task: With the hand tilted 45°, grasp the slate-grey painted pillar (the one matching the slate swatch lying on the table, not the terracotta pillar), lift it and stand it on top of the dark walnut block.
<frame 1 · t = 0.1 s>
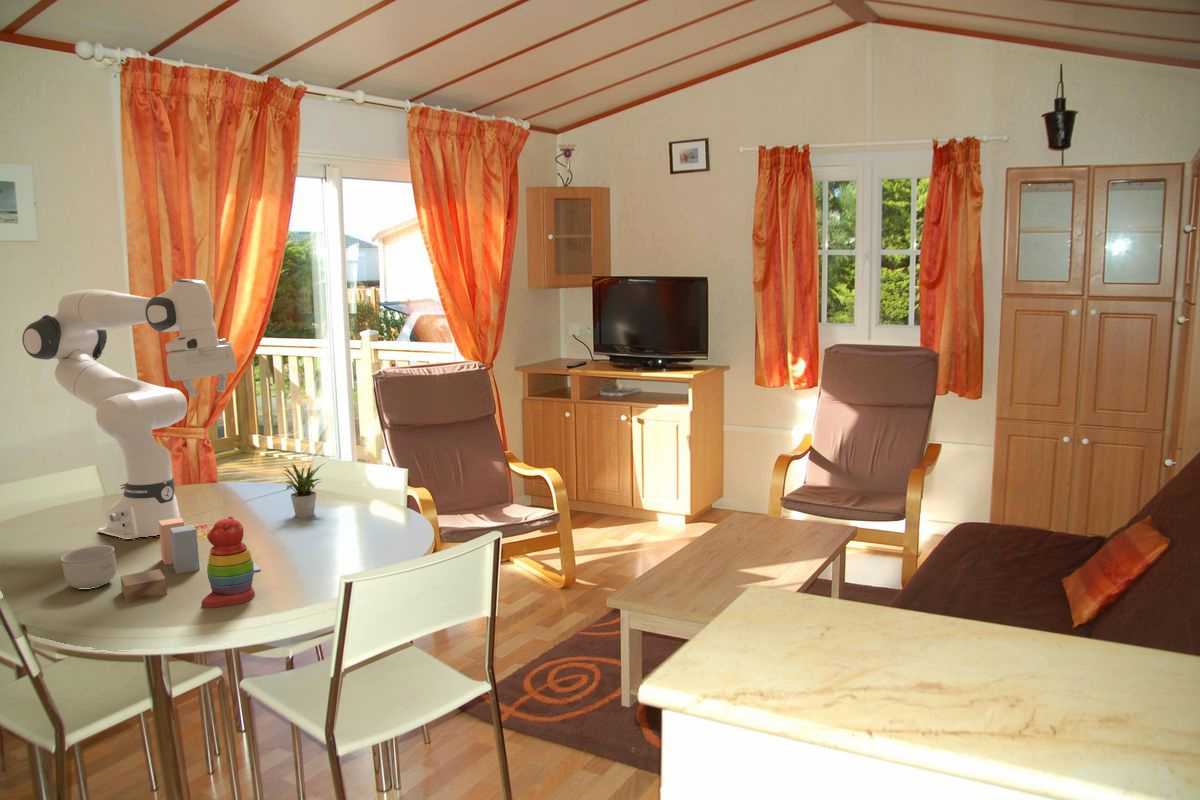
hand: (208, 394, 241), 39 cm above the table, tool pointing down, fingers open, 8 cm apart
teacup: (92, 584, 214), on the table
house plant: (299, 515, 269), on the table
terracotta pillar: (174, 560, 230), on the table
walnut block: (144, 594, 207), on the table
slate swatch: (244, 569, 221), on the table
stacking bear: (231, 599, 203), on the table
slate pillar: (186, 569, 223), on the table
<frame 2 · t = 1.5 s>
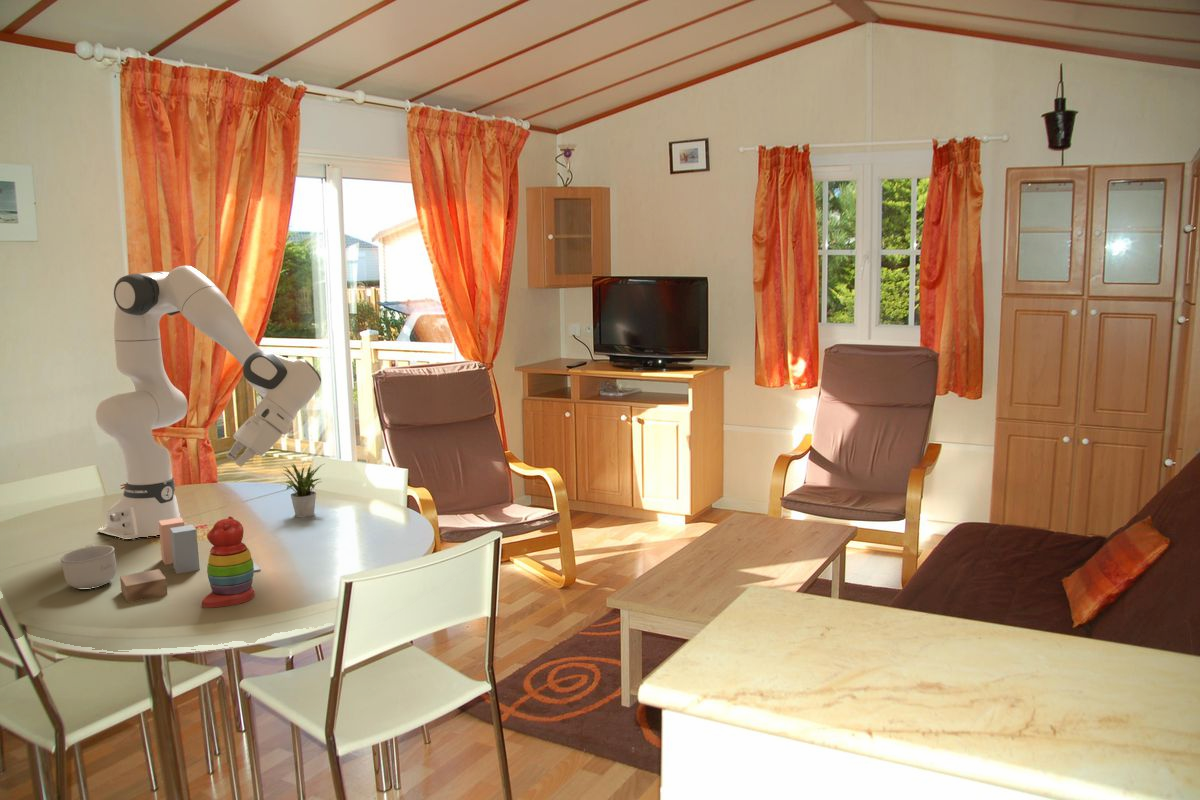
hand: (233, 461, 226), 25 cm above the table, tool tilted 45°, fingers open, 8 cm apart
nothing on the table moved.
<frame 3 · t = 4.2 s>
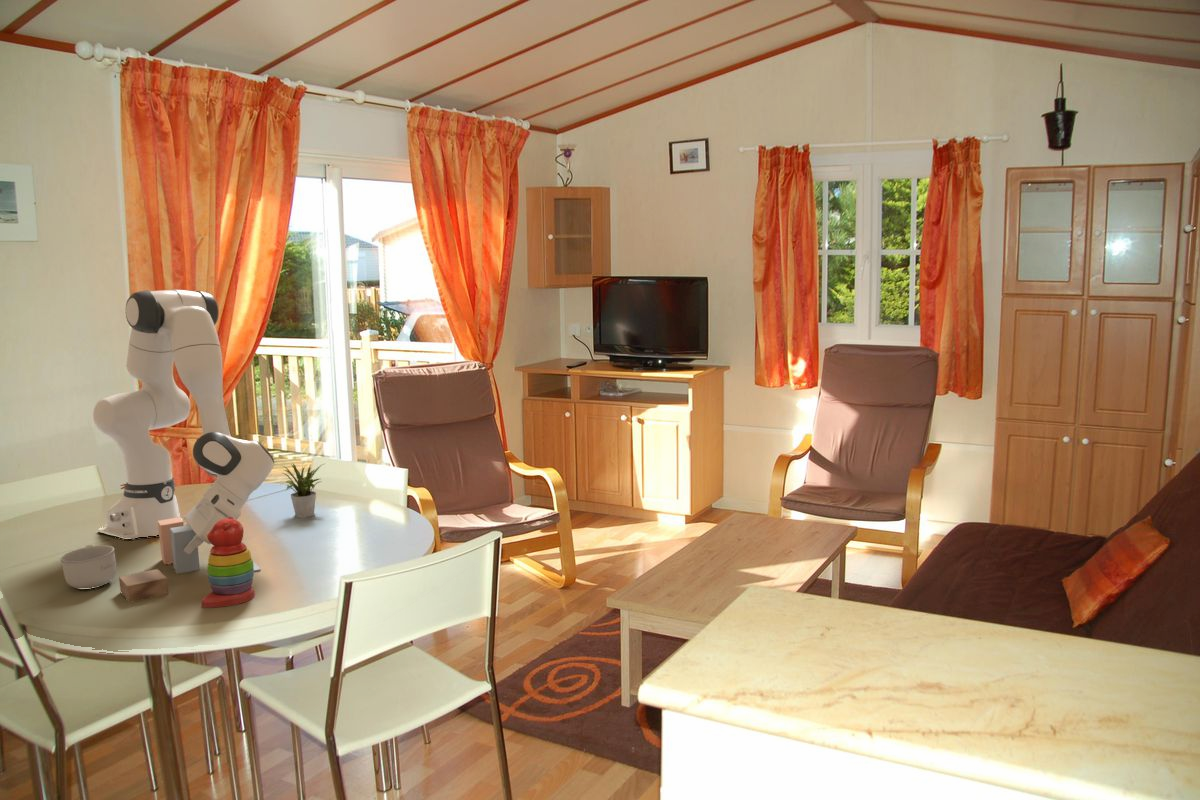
hand: (182, 547, 222), 5 cm above the table, tool tilted 45°, fingers open, 8 cm apart
terracotta pillar: (174, 560, 229), on the table, touching gripper
everything else where it was.
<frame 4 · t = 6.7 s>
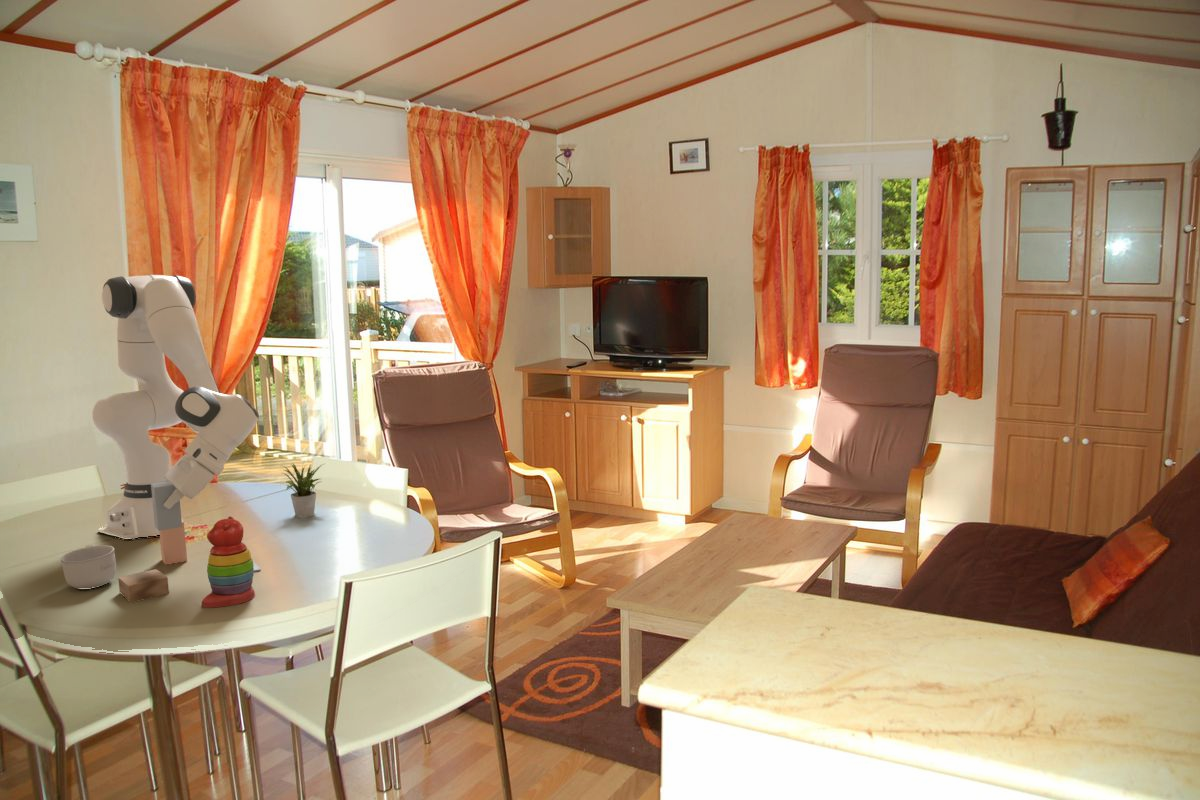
hand: (163, 504, 213), 18 cm above the table, tool tilted 45°, fingers closed on slate pillar, 5 cm apart
terracotta pillar: (174, 560, 230), on the table
slate pillar: (168, 526, 215), point 12 cm above the table, touching gripper
everything else where it was.
when the fingers open (11 cm above the table, at t = 9.0 s): slate pillar drops 1 cm, point 4 cm above the table.
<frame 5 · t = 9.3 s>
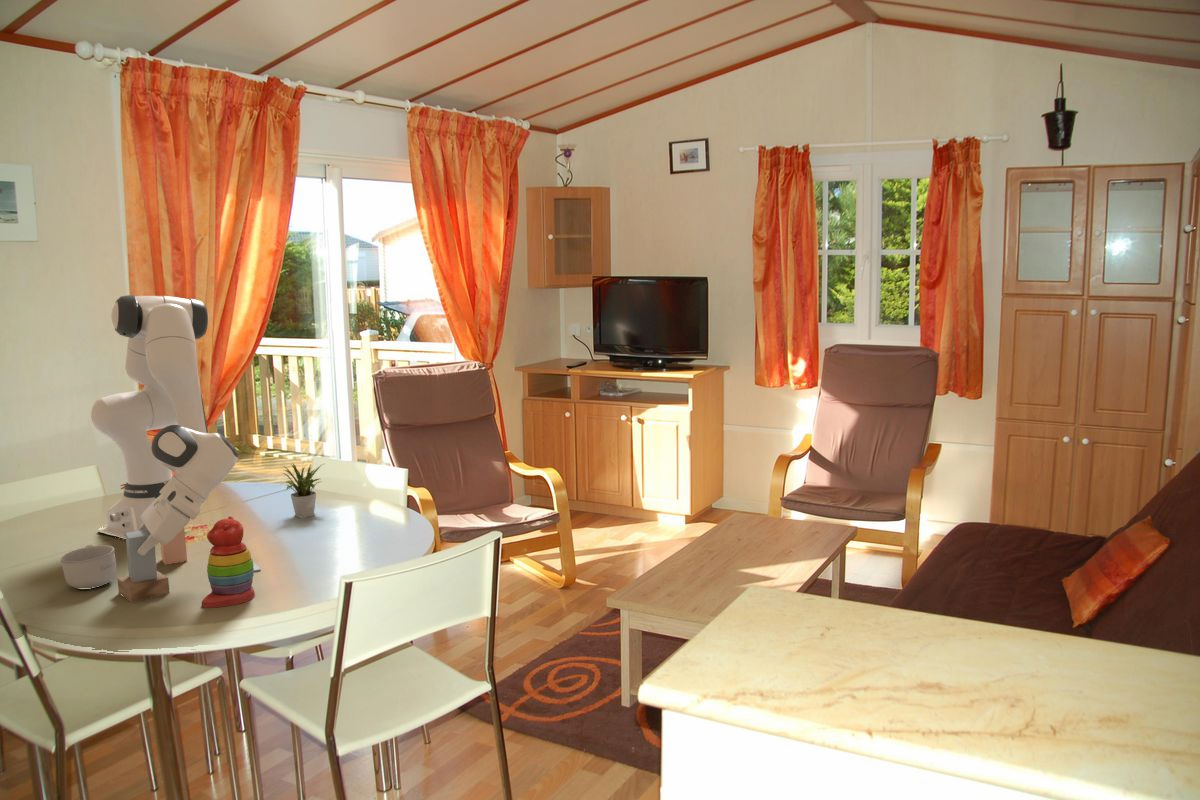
hand: (136, 547, 205), 11 cm above the table, tool tilted 45°, fingers open, 8 cm apart
slate pillar: (143, 577, 206), point 4 cm above the table
everything else where it was.
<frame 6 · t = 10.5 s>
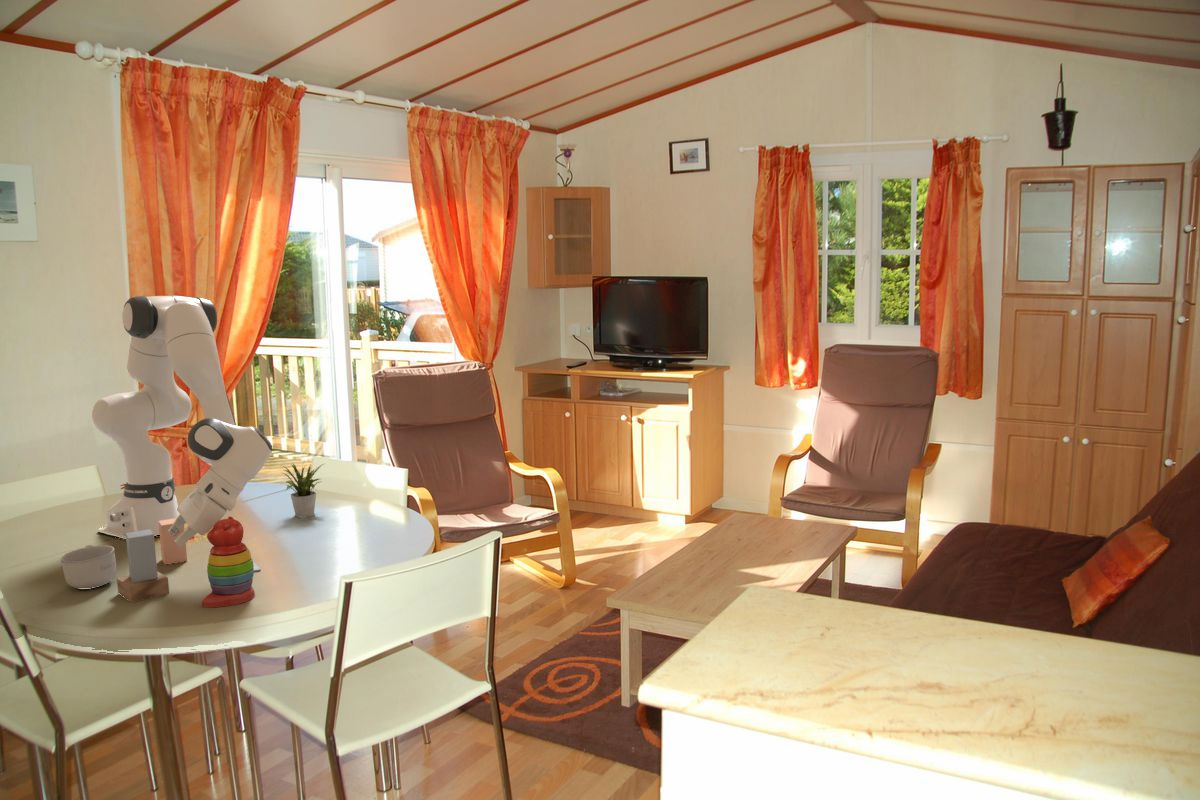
hand: (174, 539, 209), 11 cm above the table, tool tilted 45°, fingers open, 8 cm apart
nothing on the table moved.
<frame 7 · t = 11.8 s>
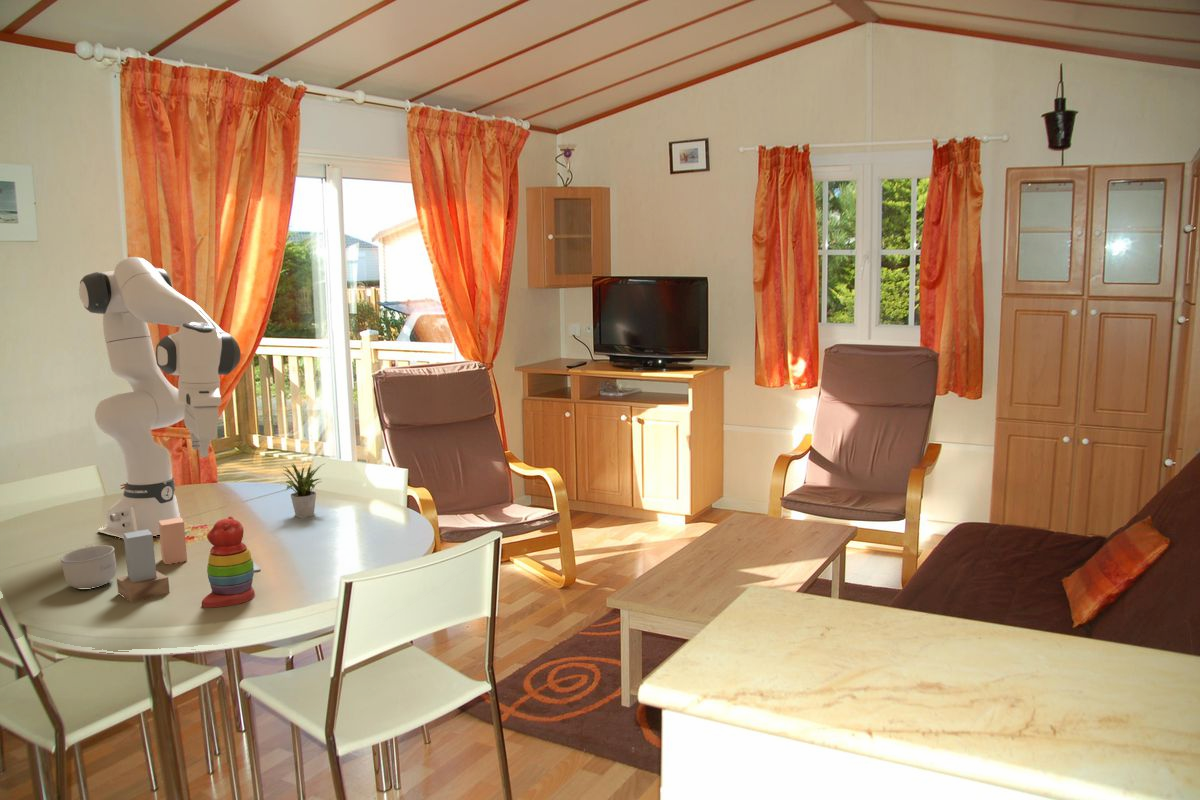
hand: (199, 452, 215), 29 cm above the table, tool pointing down, fingers open, 8 cm apart
walnut block: (144, 594, 207), on the table, touching slate pillar
slate pillar: (142, 577, 206), point 4 cm above the table, touching walnut block
everything else where it was.
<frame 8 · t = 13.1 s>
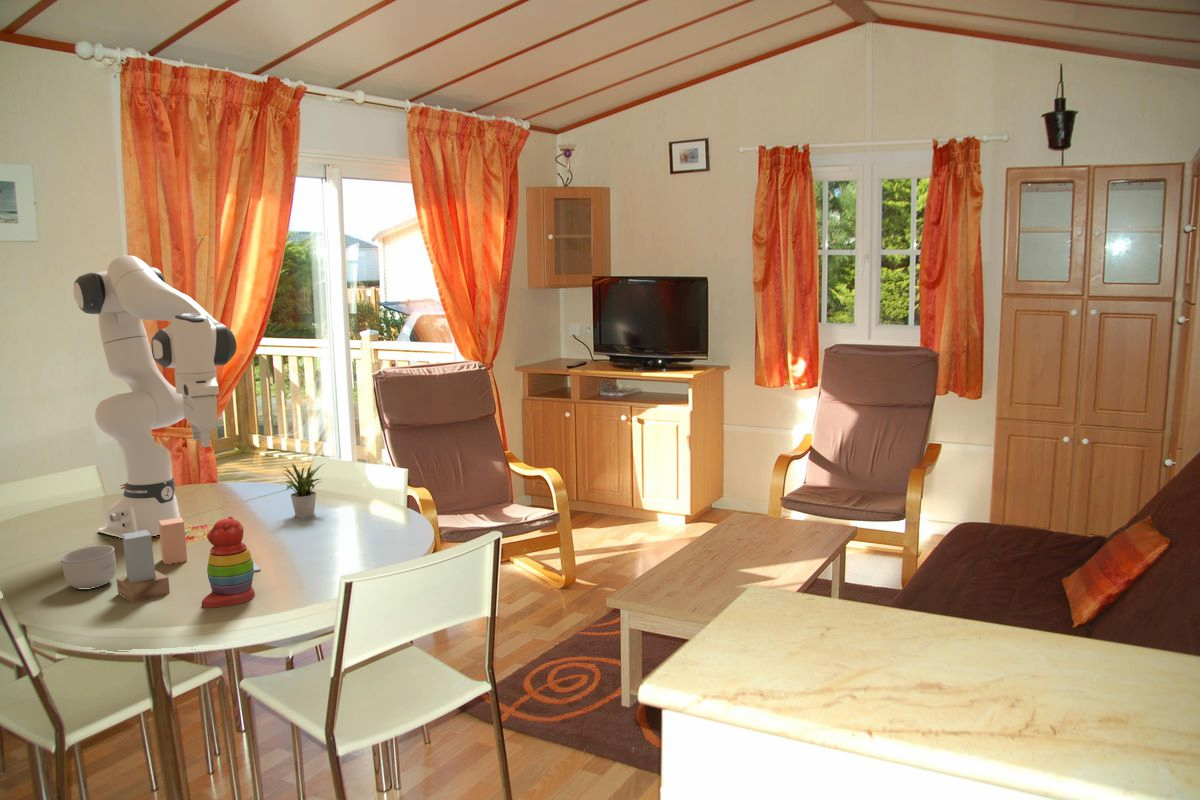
hand: (201, 443, 215), 31 cm above the table, tool pointing down, fingers open, 8 cm apart
nothing on the table moved.
at the end: slate pillar 0.1 cm off-centre on the walnut block, point 4.0 cm above the walnut block's base; slate pillar tilted 0°; the gripper is holding nothing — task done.
